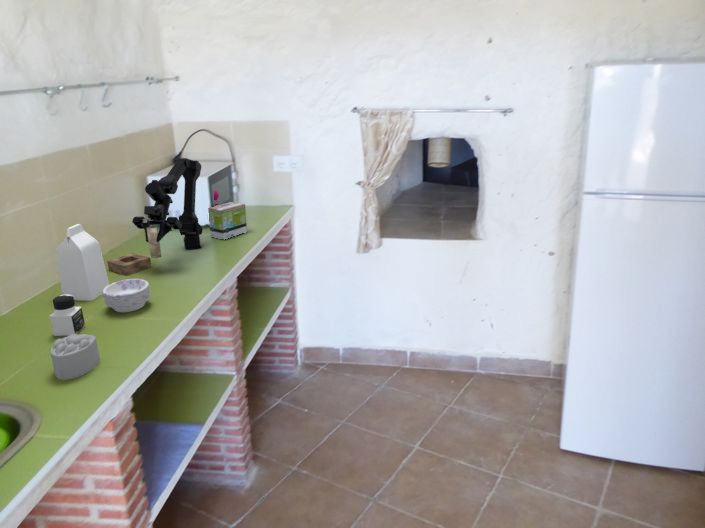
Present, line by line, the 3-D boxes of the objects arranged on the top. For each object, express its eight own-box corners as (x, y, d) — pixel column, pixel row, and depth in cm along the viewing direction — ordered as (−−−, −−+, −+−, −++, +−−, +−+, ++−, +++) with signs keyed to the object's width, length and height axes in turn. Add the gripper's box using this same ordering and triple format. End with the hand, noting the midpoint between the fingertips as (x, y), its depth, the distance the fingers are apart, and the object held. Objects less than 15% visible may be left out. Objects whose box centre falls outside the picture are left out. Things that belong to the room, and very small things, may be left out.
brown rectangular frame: (134, 261, 256) (132, 253, 255) (151, 266, 249) (150, 257, 248) (108, 270, 247) (107, 261, 246) (126, 275, 240) (124, 266, 239)
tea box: (224, 241, 281) (221, 210, 276) (210, 237, 286) (206, 207, 281) (248, 233, 292) (245, 203, 287) (233, 230, 298) (230, 200, 293)
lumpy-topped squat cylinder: (104, 357, 175) (99, 330, 172) (81, 380, 163) (76, 351, 160) (70, 356, 176) (65, 329, 173) (45, 379, 164) (39, 351, 161)
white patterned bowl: (103, 319, 201) (99, 297, 198) (108, 302, 215) (104, 281, 212) (151, 312, 205) (148, 291, 202) (153, 296, 218) (149, 276, 216)
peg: (161, 254, 242) (157, 225, 238) (161, 257, 238) (156, 228, 234) (151, 255, 241) (147, 226, 237) (150, 258, 238) (146, 229, 234)
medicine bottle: (75, 336, 189) (68, 300, 185) (53, 336, 190) (45, 301, 185) (85, 326, 196) (78, 292, 192) (64, 326, 196) (56, 292, 192)
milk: (91, 300, 217) (78, 231, 208) (63, 299, 219) (48, 230, 210) (110, 288, 228) (98, 222, 219) (83, 287, 230) (70, 221, 221)
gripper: (130, 196, 237) (120, 231, 231) (174, 197, 234) (165, 232, 227) (143, 211, 247) (134, 244, 241) (186, 211, 244) (177, 245, 237)
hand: (152, 241), depth 236 cm, fingers closed on peg, 4 cm apart
